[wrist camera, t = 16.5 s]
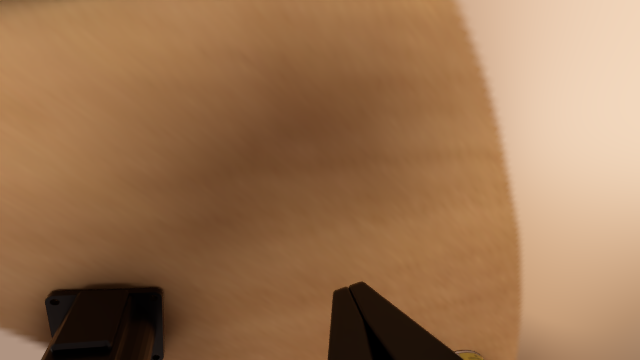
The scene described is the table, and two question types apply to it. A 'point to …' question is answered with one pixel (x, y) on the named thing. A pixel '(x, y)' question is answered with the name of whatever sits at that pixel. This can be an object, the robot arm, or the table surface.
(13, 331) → the table surface
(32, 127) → the table surface
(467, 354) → the canned food
